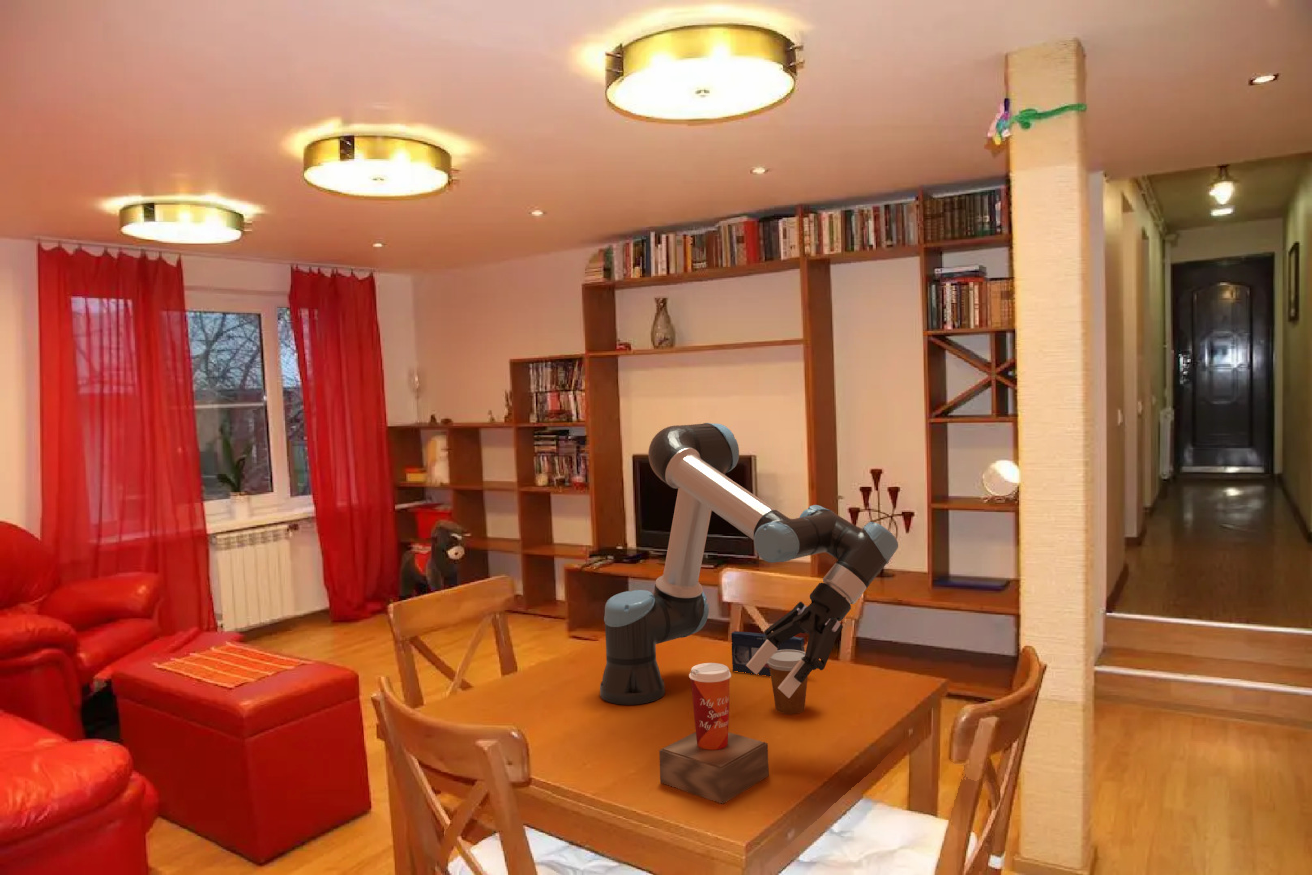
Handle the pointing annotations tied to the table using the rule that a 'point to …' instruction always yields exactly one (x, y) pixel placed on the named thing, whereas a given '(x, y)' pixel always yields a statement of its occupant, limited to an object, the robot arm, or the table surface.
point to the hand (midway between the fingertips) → (766, 681)
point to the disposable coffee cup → (779, 670)
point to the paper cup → (711, 704)
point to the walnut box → (714, 767)
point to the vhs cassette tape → (756, 649)
